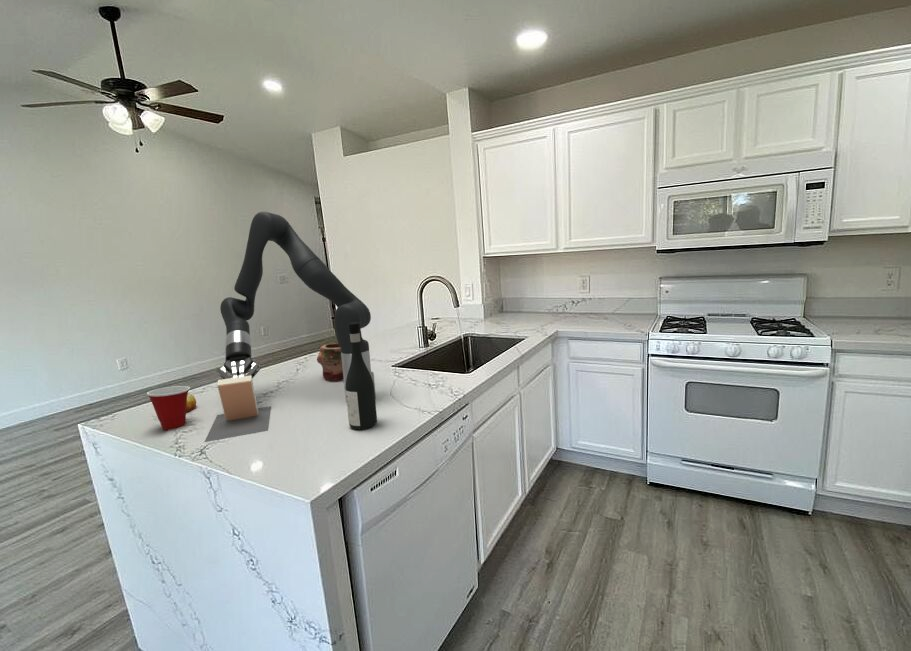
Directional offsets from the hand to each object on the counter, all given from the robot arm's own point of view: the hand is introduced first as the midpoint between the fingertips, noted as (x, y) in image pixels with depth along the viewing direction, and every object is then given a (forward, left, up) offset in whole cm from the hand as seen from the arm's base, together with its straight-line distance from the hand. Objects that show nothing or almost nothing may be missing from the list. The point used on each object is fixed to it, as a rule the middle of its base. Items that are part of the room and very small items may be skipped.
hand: (239, 393), depth 131 cm
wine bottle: (-39, -11, -9) cm, 42 cm away
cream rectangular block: (0, 0, -7) cm, 7 cm away
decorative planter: (+3, -44, -9) cm, 45 cm away
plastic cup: (+15, +13, -9) cm, 21 cm away
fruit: (+28, +5, -9) cm, 29 cm away
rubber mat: (-3, +3, -8) cm, 9 cm away
